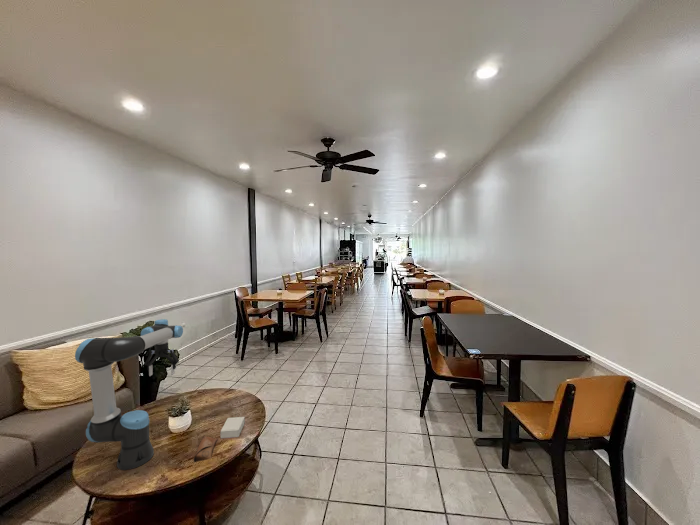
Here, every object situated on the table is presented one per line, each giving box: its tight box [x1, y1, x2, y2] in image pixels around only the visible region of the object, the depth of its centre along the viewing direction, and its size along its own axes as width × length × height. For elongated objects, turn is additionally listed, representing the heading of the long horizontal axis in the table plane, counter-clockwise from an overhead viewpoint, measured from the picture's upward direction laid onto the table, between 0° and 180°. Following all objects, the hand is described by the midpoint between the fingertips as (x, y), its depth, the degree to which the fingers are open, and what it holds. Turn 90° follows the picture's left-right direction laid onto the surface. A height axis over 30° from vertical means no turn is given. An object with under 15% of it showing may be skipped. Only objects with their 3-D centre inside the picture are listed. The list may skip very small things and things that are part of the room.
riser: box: [220, 416, 246, 439], centre depth 171 cm, size 14×10×4 cm
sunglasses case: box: [193, 435, 218, 463], centre depth 154 cm, size 18×7×7 cm
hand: (161, 374), depth 190 cm, fingers open, 13 cm apart
